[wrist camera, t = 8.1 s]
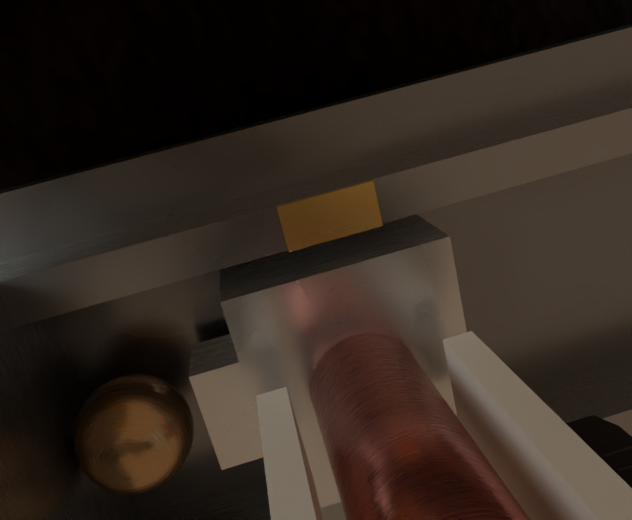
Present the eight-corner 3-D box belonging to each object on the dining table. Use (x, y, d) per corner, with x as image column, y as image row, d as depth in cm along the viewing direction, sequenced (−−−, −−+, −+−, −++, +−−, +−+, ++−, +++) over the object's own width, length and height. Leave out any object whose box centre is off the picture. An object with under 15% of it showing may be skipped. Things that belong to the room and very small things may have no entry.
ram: (415, 213, 18) (972, 585, 5) (452, 404, 20) (904, 1028, 7) (172, 281, 17) (27, 928, 4) (237, 471, 19) (281, 1291, 6)
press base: (648, 19, 19) (956, -26, 11) (669, 395, 23) (898, 555, 15) (-127, 223, 17) (-422, 345, 9) (58, 590, 21) (-34, 882, 13)
